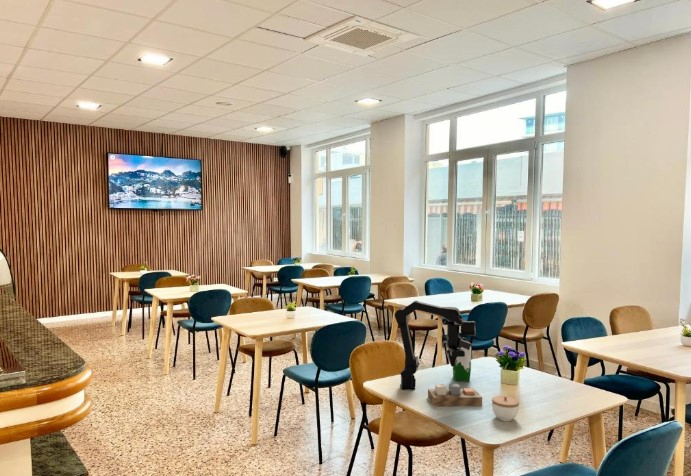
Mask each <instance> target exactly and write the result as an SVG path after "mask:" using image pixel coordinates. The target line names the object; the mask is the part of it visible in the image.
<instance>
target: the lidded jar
mask: <svg viewBox="0 0 691 476" xmlns="http://www.w3.org/2000/svg"><path fill="white" fill-rule="evenodd" d="M491 402H492V403H491V406H492V412H493V414H494V415H495V416H496V417H497V419H498V420H500V421H503V422H512V421H513V420H514V419H515V418H516V417H517V415H518V412H519V404H520V402H519V400H518V399H516V398H515V397H512V396H508V395H495V396H493V397H492V399H491Z"/></svg>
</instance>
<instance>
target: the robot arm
mask: <svg viewBox="0 0 691 476" xmlns="http://www.w3.org/2000/svg"><path fill="white" fill-rule="evenodd" d="M415 311H420V312H425V313H429V314H432V315H437V316H440V317H442V318H444V319H445V321H444V322H443V323H442V325H445V326H447V328H446V335H445V338H446V340H442V342H441V348H442V349H444V348H445V347H446V349H444V351H445V355H446V356H447V359H448V362H449V364H450V366H451V367H452V368H453V367H454V364H455V361H456V358H457V357H465V352H464V351H463V350H462V349H458V348H461V347H463V348H465V349H467V350H469V349H470V347H471V348H472V343H471V342H469V341H468V340H467V338H466V337H463V336H469V337H470V336H471V337H476V330H477V329H476V321H474V320H472V321H469V320H464V318H463V316H462V315H461V311H460V309H459V308H458V307H455V306H440V305H439V306H438V305H435V304H430V303H428V302H427V303H426V302H422V301H419V300H414V301H412V302H411V303H410V304H408V305H406V306H405V307H400V308H398V309H397V310H396V311H395V313H394V318H395V321H396V323H397V326H398V327H399V330H400V335H401V341H402V346H403V351H404V356H405V357H404V368H403V369H402V370H401V372H400V385H399V386H400V389H401V390H403V391H404V390H407V391H408V390H410V391H411V390H413V391H414V390H416V384H417V383H416V377H415V374H416V373H417V371H418V370H419V367H420V364H421V363H420V360H419V356H418V355H415V353H414V348H413V343H412V338H411V333H410V327H409V317H410V316H409V315H411V314H412V313H414V312H415ZM460 334H462V337H461V336H460Z"/></svg>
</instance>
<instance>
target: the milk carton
mask: <svg viewBox="0 0 691 476" xmlns="http://www.w3.org/2000/svg"><path fill="white" fill-rule="evenodd" d="M458 349H462V350H463V351H464V352H465V357H457V358H456V361H455V364H454V367H452V378H453V379H454V381H456V382H470V381H471V380H470V379H471V373H472V372H471V371H472V346H471V347H470V349H469V350H467V349H465V348H463V347H461V348H458Z"/></svg>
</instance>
